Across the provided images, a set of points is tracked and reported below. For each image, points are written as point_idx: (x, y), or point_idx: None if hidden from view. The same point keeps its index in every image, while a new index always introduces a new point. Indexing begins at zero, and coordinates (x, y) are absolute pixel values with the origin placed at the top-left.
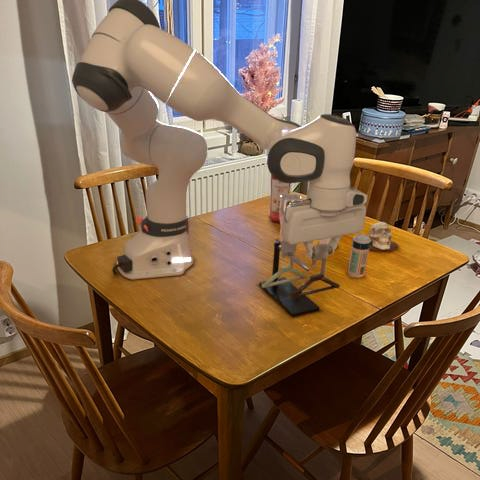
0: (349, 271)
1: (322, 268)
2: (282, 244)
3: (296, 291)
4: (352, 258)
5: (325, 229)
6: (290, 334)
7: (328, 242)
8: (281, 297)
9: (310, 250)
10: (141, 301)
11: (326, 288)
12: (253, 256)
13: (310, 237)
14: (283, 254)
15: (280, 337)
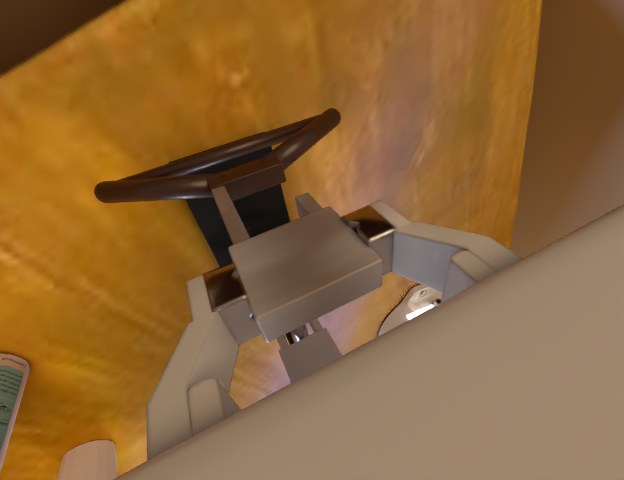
0: (22, 370)
1: (234, 207)
2: (340, 355)
3: (326, 126)
4: (3, 417)
5: (518, 448)
6: (298, 29)
7: (91, 463)
8: (274, 221)
9: (422, 226)
10: (492, 208)
11: (173, 167)
12: (278, 366)
13: (601, 272)
14: (319, 325)
15: (332, 19)
